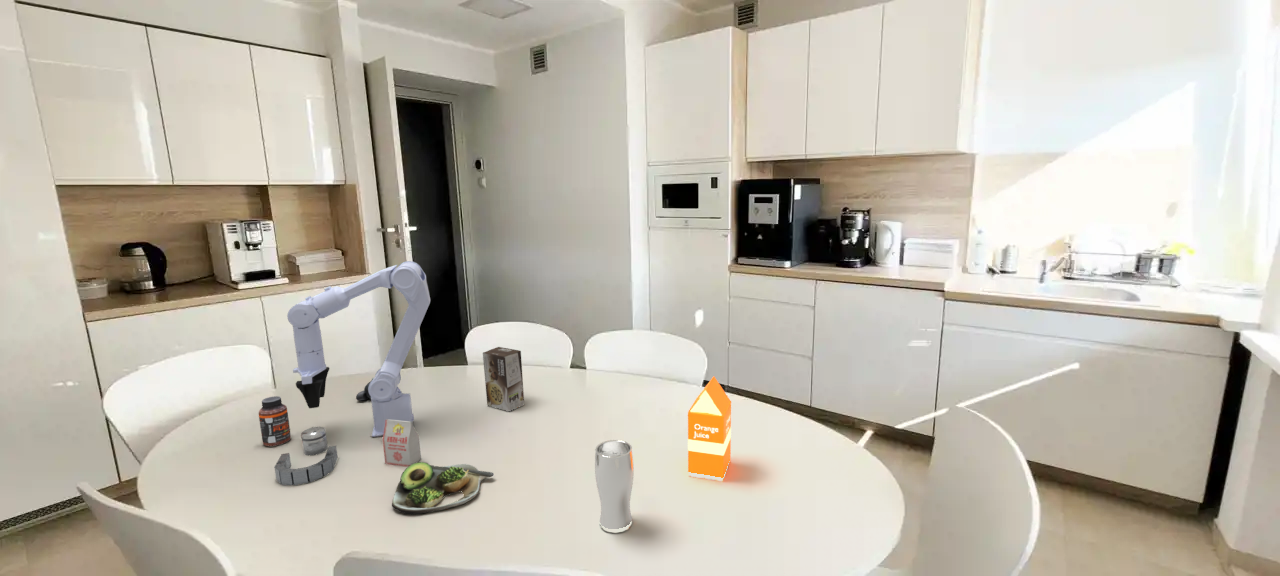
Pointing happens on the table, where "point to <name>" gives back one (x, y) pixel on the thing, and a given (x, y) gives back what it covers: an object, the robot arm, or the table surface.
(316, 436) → the cylinder
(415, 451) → the white paper bag
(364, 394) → the can opener
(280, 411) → the supplement bottle
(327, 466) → the split ring collar
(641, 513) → the table surface
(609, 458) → the beer glass
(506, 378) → the coffee box
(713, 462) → the orange juice
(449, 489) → the avocado toast plate
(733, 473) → the table surface
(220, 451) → the table surface
